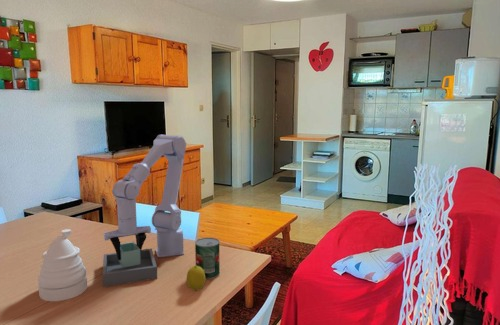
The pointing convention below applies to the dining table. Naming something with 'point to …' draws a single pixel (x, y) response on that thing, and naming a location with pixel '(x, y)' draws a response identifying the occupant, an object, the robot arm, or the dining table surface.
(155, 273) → the charcoal crate
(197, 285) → the lemon
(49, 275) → the honey pot
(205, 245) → the canned tomato
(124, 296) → the dining table surface
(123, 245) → the teal crate
